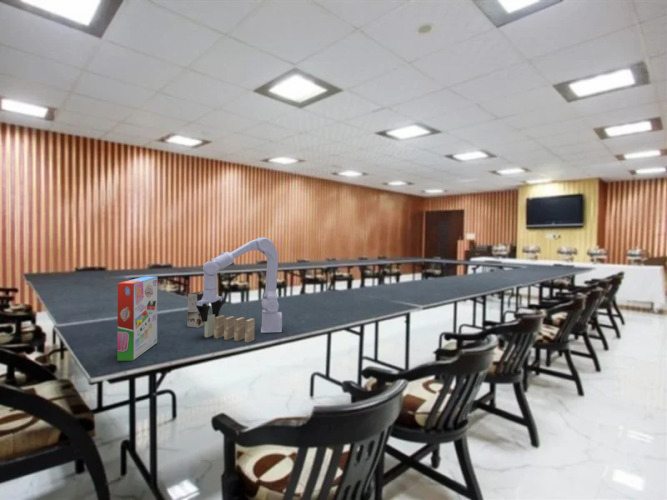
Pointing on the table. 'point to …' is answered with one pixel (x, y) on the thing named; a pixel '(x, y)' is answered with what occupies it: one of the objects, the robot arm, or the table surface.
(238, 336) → the domino
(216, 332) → the domino
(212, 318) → the domino
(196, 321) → the coffee box
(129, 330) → the game box
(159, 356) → the table surface
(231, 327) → the domino
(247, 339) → the domino
